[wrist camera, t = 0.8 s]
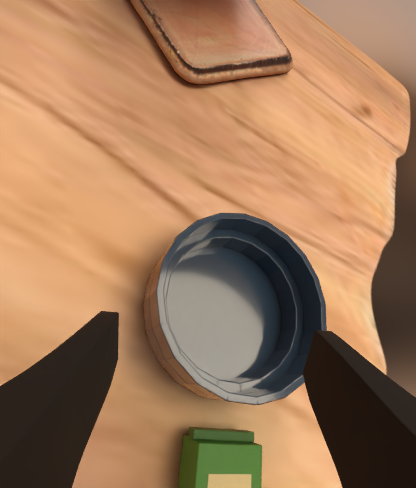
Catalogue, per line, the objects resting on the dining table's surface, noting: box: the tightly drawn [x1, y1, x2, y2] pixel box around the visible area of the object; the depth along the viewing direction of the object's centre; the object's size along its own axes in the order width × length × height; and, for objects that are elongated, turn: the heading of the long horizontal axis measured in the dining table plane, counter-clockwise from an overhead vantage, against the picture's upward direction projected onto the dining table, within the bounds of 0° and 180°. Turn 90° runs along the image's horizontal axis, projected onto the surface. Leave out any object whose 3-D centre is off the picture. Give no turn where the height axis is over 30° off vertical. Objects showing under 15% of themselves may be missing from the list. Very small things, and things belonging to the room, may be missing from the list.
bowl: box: [143, 213, 327, 405], centre depth 25 cm, size 14×14×5 cm
